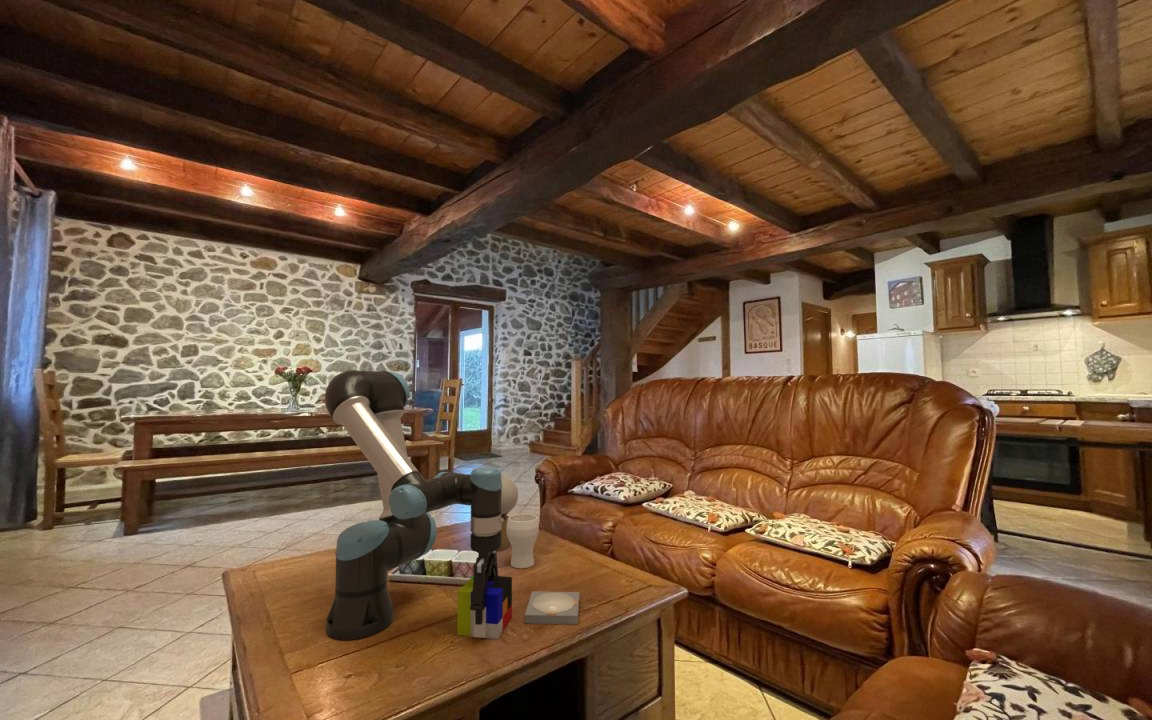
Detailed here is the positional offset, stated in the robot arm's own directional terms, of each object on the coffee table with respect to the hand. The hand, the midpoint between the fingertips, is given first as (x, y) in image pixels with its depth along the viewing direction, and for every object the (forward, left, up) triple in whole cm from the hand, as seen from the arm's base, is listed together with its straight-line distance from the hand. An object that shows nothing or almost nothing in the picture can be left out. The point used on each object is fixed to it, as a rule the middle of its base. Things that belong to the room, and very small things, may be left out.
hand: (485, 624), depth 111 cm
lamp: (-9, +56, -1) cm, 57 cm away
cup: (+3, +39, -1) cm, 39 cm away
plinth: (+16, +8, 0) cm, 18 cm away
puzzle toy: (0, 0, -1) cm, 1 cm away
